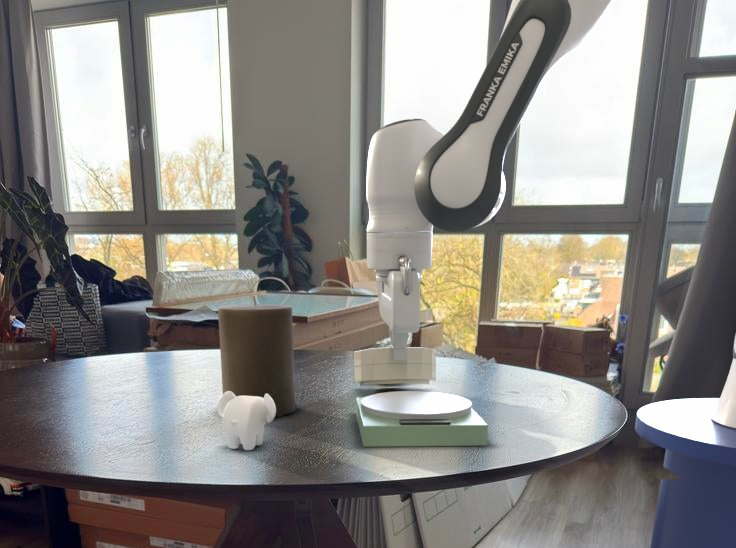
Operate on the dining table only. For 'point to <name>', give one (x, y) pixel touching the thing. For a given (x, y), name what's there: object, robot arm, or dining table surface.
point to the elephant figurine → (245, 418)
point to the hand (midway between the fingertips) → (398, 358)
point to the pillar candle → (258, 352)
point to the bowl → (394, 368)
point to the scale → (419, 420)
